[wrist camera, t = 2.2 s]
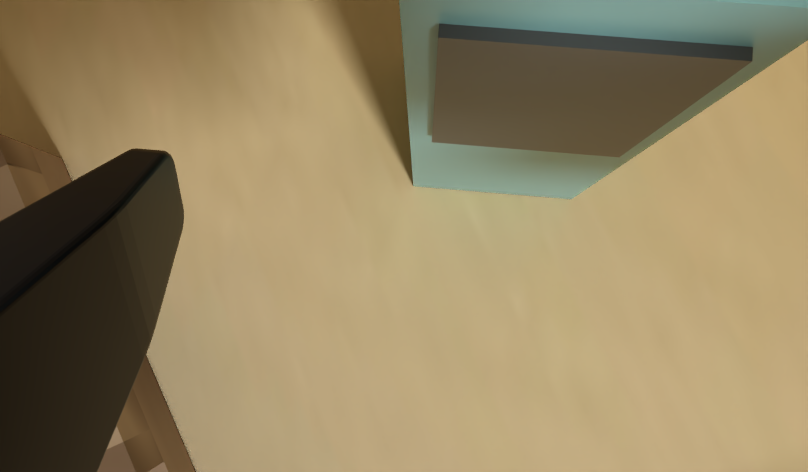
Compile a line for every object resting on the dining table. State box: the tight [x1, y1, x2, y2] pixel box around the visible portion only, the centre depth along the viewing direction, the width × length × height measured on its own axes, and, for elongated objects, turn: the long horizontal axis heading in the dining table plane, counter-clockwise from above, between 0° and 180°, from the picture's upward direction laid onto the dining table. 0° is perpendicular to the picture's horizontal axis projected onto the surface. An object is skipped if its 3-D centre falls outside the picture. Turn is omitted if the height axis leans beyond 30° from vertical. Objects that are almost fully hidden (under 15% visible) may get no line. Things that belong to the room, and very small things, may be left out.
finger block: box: [399, 0, 808, 199], centre depth 13 cm, size 4×4×12 cm
